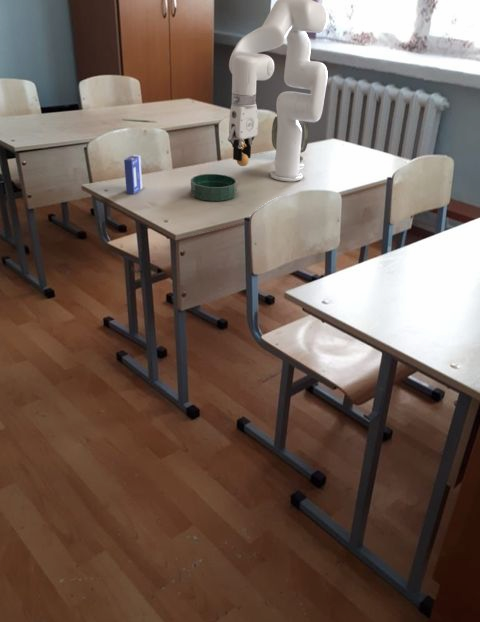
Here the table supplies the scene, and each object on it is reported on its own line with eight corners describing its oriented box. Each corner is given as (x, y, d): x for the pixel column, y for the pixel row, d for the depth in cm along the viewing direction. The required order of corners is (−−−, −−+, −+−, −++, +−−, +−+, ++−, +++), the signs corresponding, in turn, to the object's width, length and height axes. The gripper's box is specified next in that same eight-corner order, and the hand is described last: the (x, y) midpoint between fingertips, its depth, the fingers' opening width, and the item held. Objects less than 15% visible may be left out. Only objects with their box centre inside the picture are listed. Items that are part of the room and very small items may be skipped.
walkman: (133, 194, 209) (131, 159, 202) (126, 193, 209) (123, 158, 203) (143, 187, 215) (141, 154, 209) (135, 186, 216) (133, 153, 209)
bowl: (211, 184, 223) (211, 171, 220) (245, 194, 216) (245, 180, 213) (181, 194, 212) (181, 180, 209) (216, 205, 204) (216, 190, 202)
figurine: (253, 169, 195) (256, 130, 189) (236, 169, 192) (239, 131, 186) (242, 162, 201) (244, 125, 195) (226, 163, 198) (227, 125, 192)
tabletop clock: (273, 161, 255) (277, 99, 241) (269, 156, 262) (272, 95, 249) (306, 161, 258) (311, 100, 244) (301, 156, 265) (306, 96, 252)
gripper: (236, 104, 179) (235, 166, 189) (268, 98, 191) (265, 156, 200) (217, 100, 182) (216, 161, 192) (250, 95, 194) (248, 152, 204)
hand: (241, 158), depth 196 cm, fingers closed on figurine, 4 cm apart
